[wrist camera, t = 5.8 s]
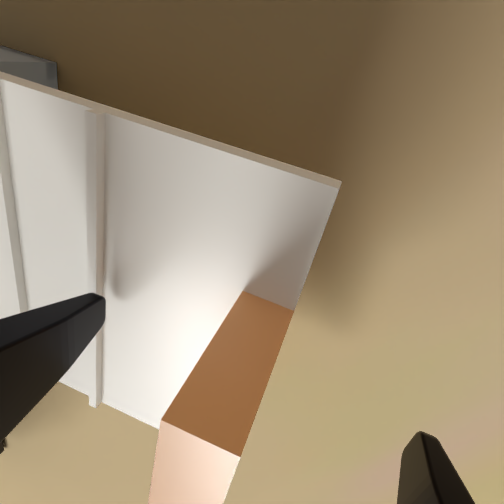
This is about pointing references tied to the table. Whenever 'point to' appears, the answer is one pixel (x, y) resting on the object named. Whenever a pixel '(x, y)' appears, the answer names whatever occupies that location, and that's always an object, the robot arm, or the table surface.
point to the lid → (158, 267)
